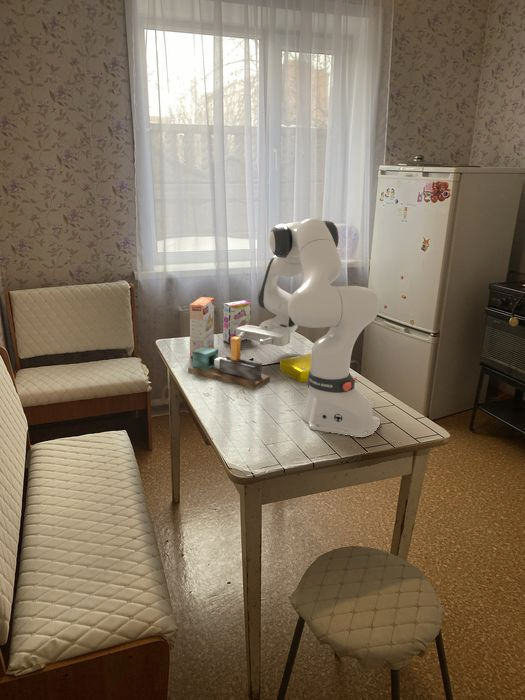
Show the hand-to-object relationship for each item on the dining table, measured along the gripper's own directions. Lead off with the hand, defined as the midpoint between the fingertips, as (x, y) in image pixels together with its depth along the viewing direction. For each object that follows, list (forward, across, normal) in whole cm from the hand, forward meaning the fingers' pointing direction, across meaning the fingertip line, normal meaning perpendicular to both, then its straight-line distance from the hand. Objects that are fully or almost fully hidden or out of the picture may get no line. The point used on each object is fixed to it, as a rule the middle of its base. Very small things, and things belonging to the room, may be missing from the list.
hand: (250, 340), depth 186 cm
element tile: (-10, +18, +12) cm, 24 cm away
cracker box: (-6, -26, +11) cm, 29 cm away
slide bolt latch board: (+9, -3, +11) cm, 15 cm away
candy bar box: (-27, -24, +11) cm, 38 cm away
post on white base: (+9, -2, +9) cm, 13 cm away
